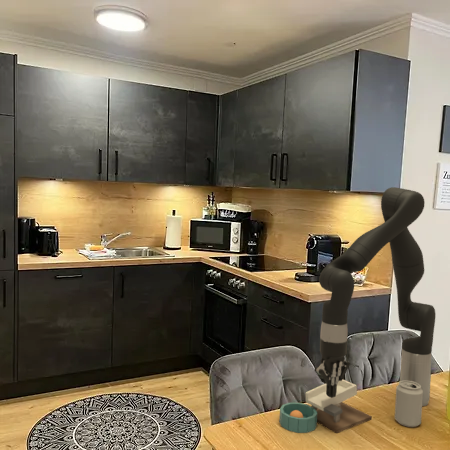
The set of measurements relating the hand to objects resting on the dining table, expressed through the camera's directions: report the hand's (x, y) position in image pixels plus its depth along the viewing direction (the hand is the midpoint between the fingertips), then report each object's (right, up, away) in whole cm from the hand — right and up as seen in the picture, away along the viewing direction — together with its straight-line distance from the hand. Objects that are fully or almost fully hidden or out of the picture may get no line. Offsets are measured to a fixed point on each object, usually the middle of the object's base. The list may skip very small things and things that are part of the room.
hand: (331, 396), depth 133 cm
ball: (-10, -7, +1) cm, 12 cm away
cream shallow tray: (+3, -4, +7) cm, 8 cm away
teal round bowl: (-9, -9, +3) cm, 13 cm away
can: (+25, -11, +7) cm, 28 cm away
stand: (+4, -10, +9) cm, 13 cm away
